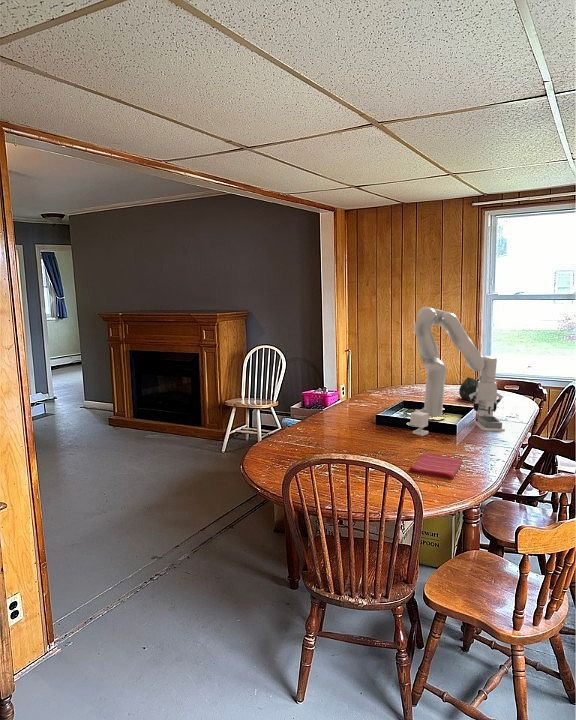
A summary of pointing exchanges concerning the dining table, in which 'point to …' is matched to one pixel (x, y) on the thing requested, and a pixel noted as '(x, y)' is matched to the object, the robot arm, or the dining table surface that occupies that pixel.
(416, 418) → the security camera
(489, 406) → the ink box
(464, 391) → the squash
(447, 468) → the dish towel
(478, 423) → the dock board
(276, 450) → the dining table surface
